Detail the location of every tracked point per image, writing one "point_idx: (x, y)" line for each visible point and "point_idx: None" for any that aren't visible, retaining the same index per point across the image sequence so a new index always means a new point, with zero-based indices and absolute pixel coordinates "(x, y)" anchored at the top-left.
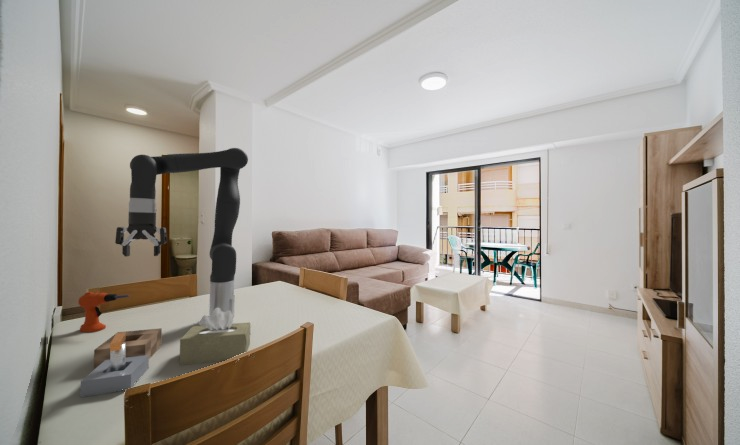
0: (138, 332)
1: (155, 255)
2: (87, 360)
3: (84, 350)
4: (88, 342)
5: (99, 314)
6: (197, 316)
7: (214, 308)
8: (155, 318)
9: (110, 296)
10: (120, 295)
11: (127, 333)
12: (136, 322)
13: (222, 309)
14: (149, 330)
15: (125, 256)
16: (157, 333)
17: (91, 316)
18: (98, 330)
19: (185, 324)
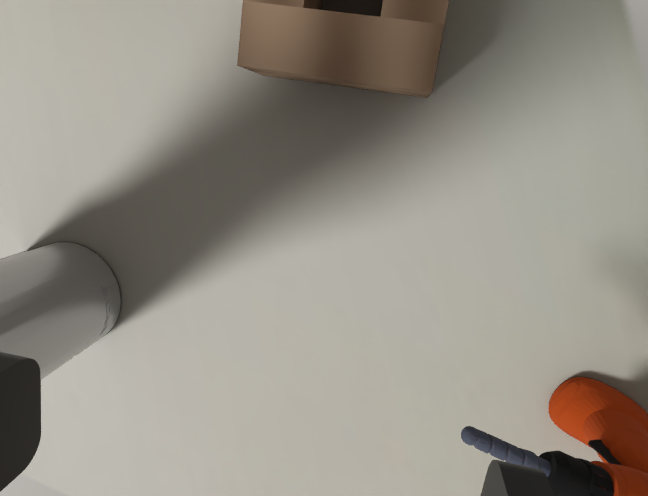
0: (332, 43)
1: (1, 354)
2: (517, 31)
3: (560, 156)
4: (570, 249)
5: (597, 444)
6: (183, 382)
7: (42, 272)
8: (361, 439)
9: (575, 470)
10: (516, 459)
11: (380, 49)
12: (431, 422)
13: (9, 258)
14: (287, 53)
15: (519, 473)
16: (244, 8)
17: (630, 439)
18: (568, 380)
19: (215, 297)
